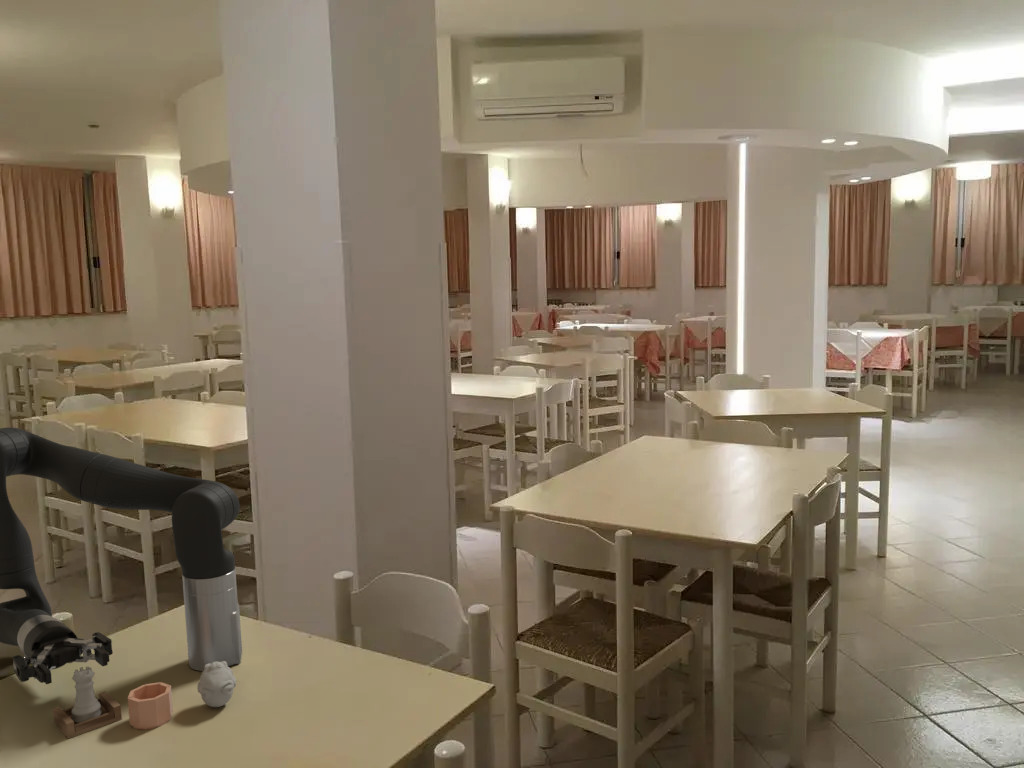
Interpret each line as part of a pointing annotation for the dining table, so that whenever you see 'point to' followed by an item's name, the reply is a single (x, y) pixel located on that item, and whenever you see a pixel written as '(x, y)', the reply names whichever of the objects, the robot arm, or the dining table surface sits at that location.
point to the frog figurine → (216, 684)
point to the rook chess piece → (85, 696)
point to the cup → (150, 705)
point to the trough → (108, 715)
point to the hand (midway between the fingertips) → (77, 668)
